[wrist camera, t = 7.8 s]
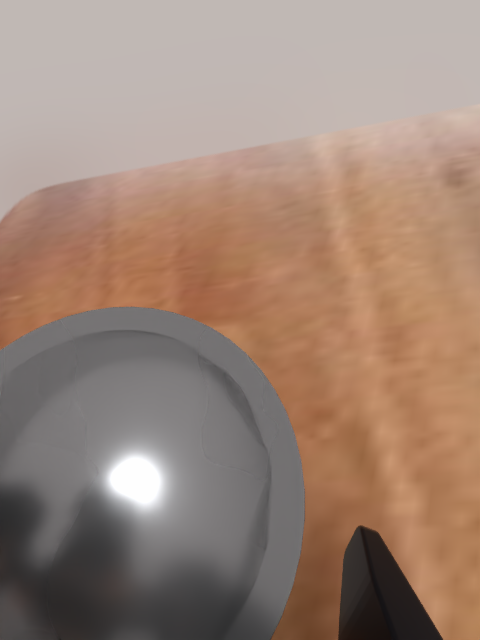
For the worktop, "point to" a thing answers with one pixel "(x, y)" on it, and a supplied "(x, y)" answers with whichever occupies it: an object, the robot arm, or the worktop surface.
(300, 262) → the worktop surface
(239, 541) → the metal knob
